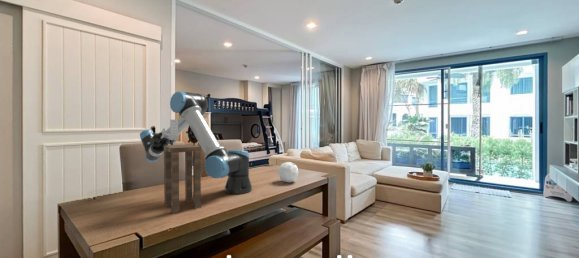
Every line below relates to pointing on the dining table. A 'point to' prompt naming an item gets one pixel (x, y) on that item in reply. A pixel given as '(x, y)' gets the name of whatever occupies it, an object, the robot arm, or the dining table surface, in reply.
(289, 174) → the geodesic sphere
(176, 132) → the shelf bracket
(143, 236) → the dining table surface
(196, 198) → the plant stand
